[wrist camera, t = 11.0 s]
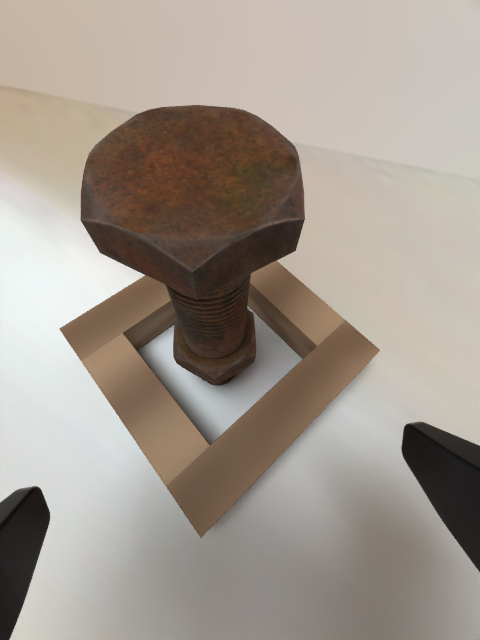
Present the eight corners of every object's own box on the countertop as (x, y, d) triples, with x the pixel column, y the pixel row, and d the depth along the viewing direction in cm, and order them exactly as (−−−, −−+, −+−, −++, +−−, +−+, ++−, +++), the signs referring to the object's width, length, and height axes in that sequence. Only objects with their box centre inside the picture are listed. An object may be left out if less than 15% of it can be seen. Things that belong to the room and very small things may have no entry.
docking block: (360, 365, 20) (380, 350, 18) (205, 526, 16) (200, 537, 13) (231, 248, 25) (231, 222, 22) (81, 347, 20) (59, 328, 18)
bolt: (271, 352, 21) (345, 143, 7) (238, 417, 19) (258, 290, 5) (201, 317, 22) (155, 80, 8) (162, 375, 20) (19, 182, 6)
